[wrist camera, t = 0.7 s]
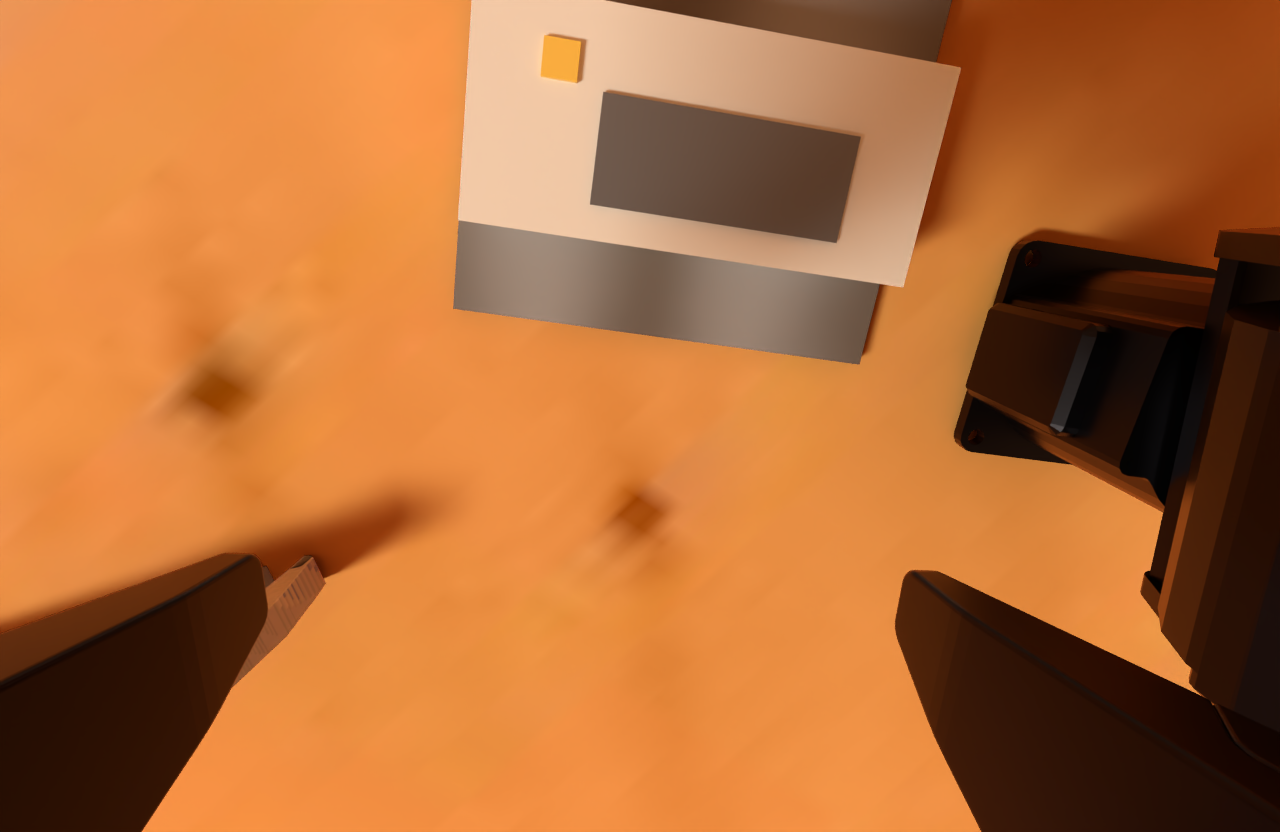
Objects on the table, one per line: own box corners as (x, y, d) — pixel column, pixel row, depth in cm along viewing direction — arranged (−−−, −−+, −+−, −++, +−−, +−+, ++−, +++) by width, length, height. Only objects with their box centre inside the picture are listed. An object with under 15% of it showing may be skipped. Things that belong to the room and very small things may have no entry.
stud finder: (911, 88, 17) (965, 66, 14) (864, 278, 18) (905, 288, 16) (492, 11, 16) (472, -28, 13) (477, 219, 17) (456, 220, 15)
